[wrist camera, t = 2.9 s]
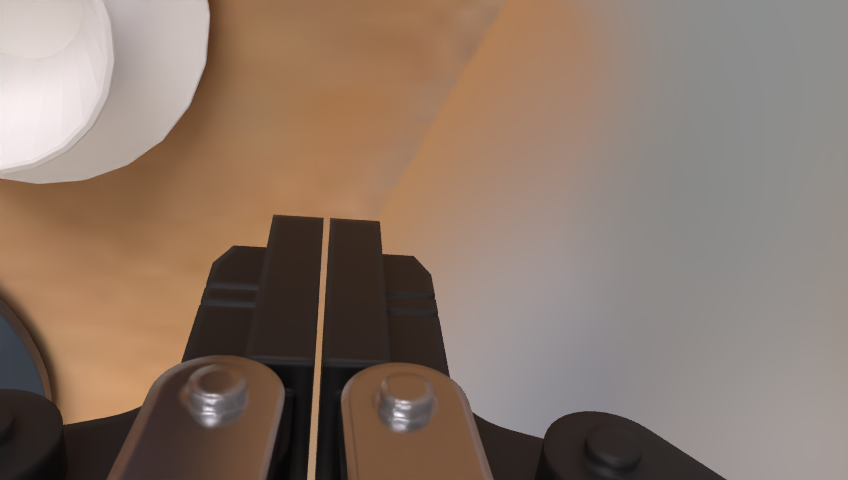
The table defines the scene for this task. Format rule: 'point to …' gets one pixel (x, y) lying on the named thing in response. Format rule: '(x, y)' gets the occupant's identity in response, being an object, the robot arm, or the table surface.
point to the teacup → (93, 82)
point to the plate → (20, 357)
